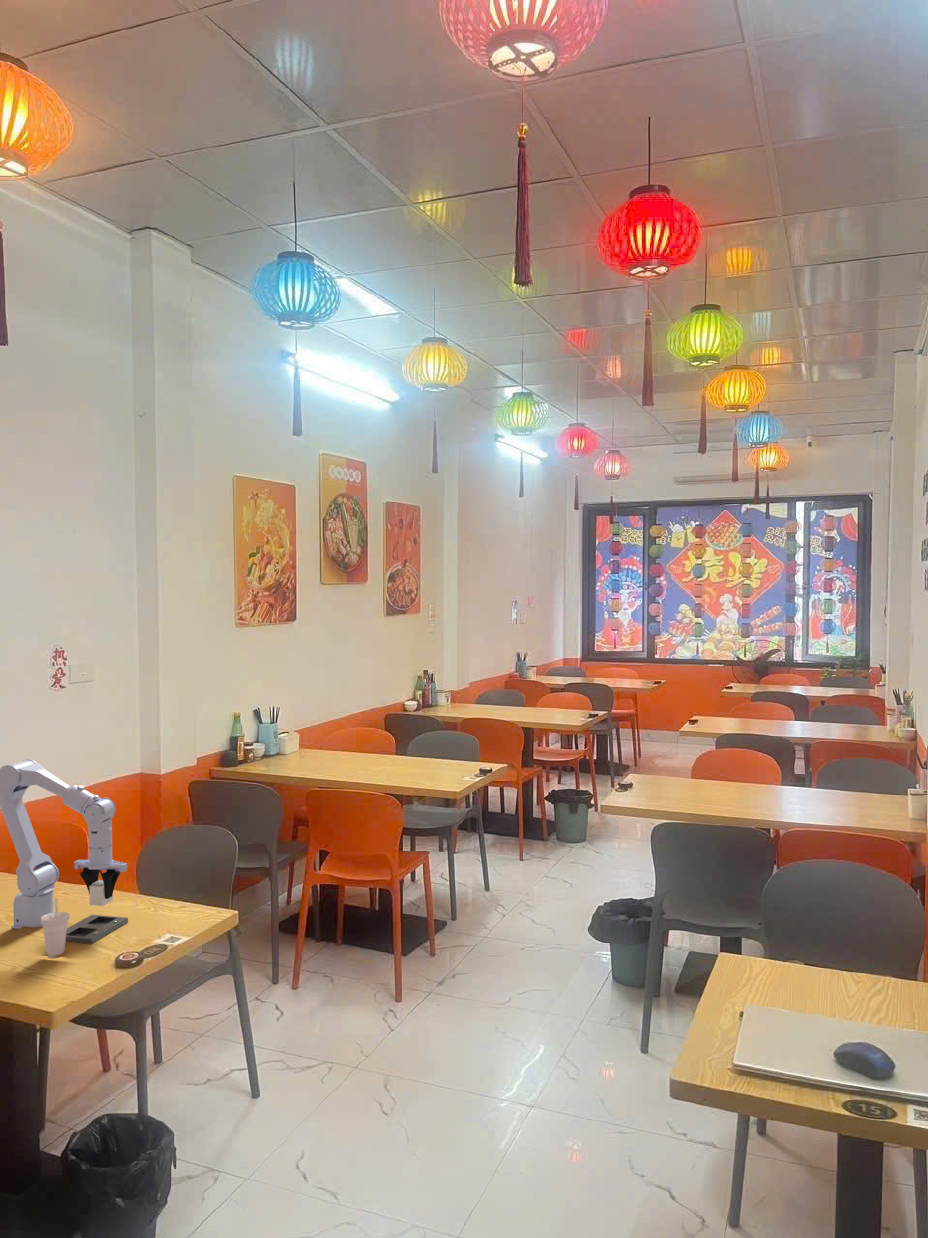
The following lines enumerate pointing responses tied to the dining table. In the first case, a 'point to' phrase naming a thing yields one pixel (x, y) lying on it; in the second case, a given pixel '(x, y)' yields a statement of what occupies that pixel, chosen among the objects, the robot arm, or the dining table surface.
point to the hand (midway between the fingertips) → (101, 897)
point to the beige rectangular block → (98, 894)
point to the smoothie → (55, 931)
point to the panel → (93, 928)
